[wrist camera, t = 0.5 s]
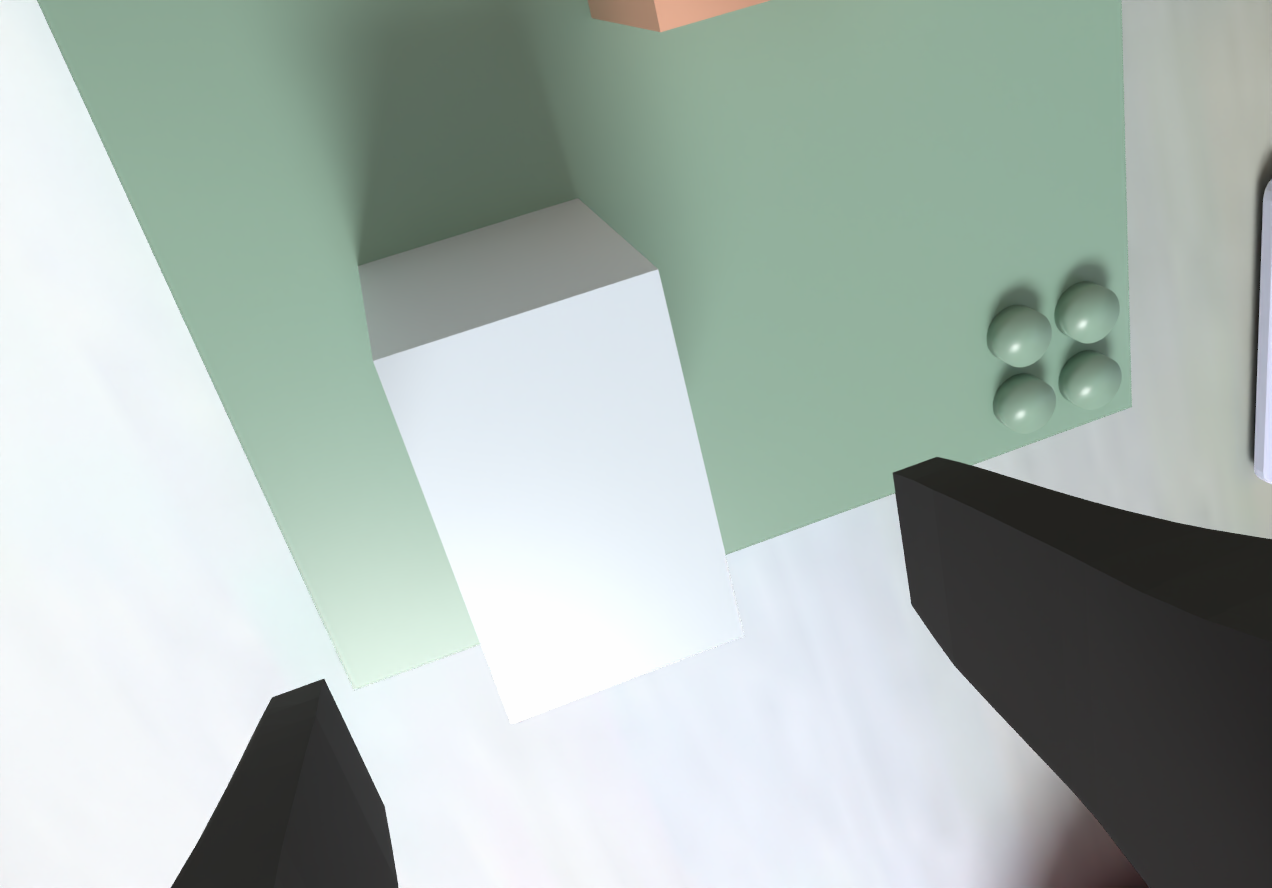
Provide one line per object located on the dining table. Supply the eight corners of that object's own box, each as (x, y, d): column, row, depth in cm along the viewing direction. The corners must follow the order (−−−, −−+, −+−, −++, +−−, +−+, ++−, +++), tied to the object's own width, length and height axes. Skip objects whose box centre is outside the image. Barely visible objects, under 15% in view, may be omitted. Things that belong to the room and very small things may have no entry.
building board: (1057, -792, 16) (1124, -858, 15) (1103, 391, 25) (1146, 415, 24) (-200, -556, 14) (-255, -612, 12) (352, 662, 23) (355, 705, 21)
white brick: (577, 198, 19) (658, 268, 15) (658, 501, 22) (744, 636, 18) (357, 266, 19) (373, 361, 14) (469, 568, 21) (511, 724, 17)
